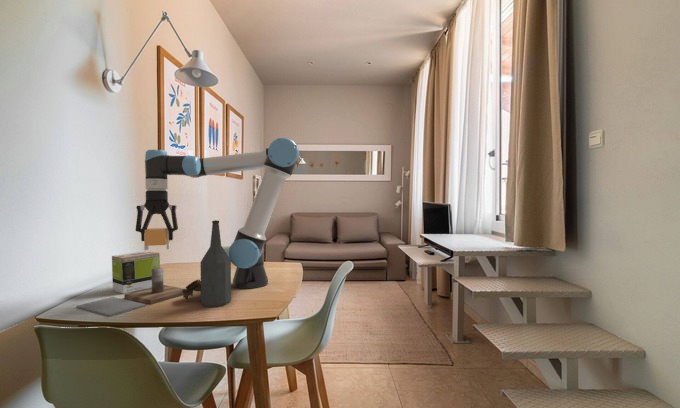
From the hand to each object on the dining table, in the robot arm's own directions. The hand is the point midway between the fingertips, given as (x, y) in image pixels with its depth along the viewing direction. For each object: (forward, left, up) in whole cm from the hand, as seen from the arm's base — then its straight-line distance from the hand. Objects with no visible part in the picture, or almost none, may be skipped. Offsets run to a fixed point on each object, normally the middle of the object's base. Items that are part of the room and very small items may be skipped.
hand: (157, 249), depth 131 cm
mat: (+2, +16, -18) cm, 24 cm away
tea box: (+18, -3, -18) cm, 26 cm away
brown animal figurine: (-17, -5, -19) cm, 26 cm away
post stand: (0, 0, -18) cm, 18 cm away
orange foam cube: (0, 0, +2) cm, 2 cm away
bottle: (-27, -4, -18) cm, 33 cm away
